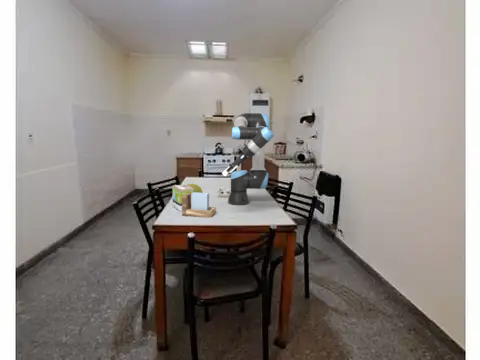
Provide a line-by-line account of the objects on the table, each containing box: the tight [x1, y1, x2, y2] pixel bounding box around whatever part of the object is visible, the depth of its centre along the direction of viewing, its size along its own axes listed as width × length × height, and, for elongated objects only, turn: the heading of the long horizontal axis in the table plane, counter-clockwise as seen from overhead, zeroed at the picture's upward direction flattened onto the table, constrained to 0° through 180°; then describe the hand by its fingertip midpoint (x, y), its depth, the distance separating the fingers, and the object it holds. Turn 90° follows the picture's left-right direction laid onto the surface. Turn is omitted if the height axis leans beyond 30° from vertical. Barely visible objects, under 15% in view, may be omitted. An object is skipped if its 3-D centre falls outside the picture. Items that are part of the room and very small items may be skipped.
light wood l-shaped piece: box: [181, 193, 217, 219], centre depth 206 cm, size 12×18×12 cm, turn 79°
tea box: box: [172, 184, 194, 212], centre depth 220 cm, size 15×10×15 cm, turn 30°
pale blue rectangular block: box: [191, 192, 210, 210], centre depth 206 cm, size 4×10×12 cm, turn 79°
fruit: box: [186, 183, 204, 193], centre depth 236 cm, size 16×14×15 cm
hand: (226, 173), depth 203 cm, fingers open, 13 cm apart
